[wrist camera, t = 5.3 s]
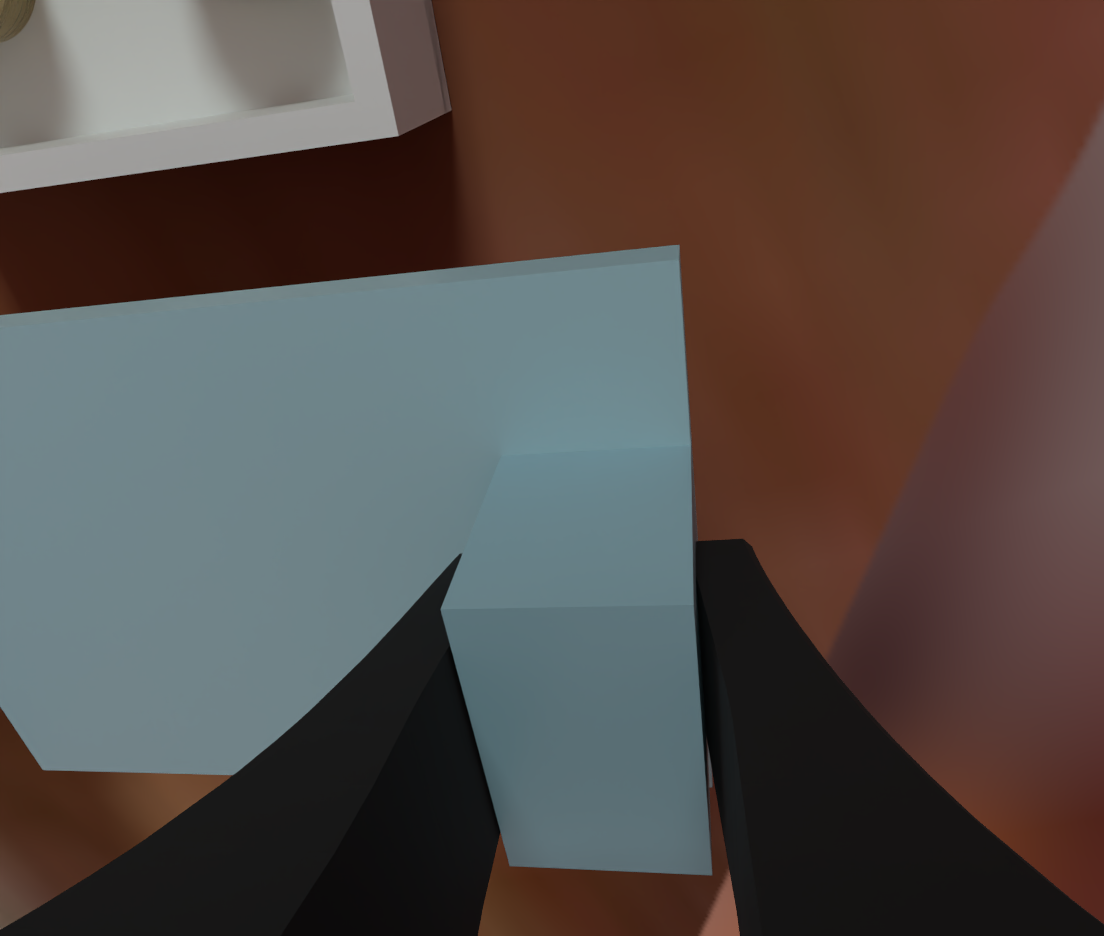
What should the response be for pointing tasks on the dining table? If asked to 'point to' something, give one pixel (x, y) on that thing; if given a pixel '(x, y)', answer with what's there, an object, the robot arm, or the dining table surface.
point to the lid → (370, 532)
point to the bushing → (14, 17)
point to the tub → (208, 82)
